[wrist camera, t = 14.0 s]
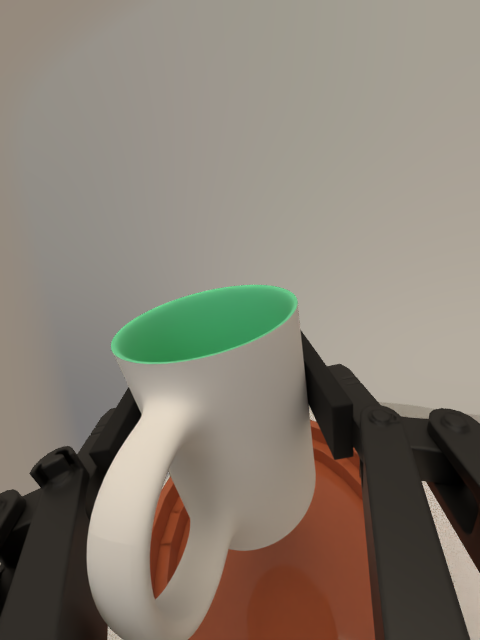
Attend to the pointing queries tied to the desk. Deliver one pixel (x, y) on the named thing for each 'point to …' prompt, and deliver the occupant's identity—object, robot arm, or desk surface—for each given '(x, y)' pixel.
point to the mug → (202, 451)
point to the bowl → (285, 565)
